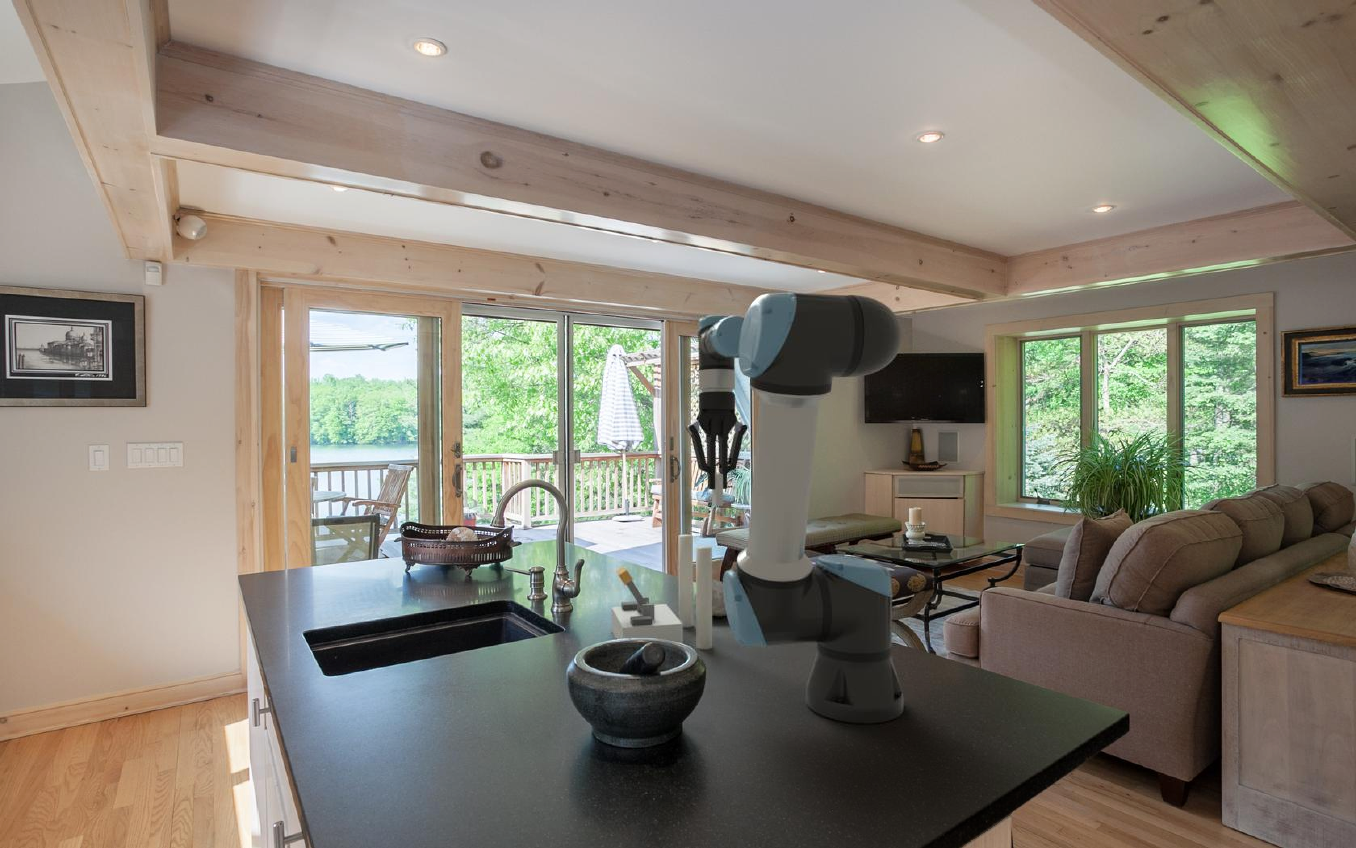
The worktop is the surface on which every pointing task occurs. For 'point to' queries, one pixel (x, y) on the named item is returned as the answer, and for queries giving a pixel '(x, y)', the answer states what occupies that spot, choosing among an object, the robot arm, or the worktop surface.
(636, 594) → the breaker lever
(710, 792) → the worktop surface
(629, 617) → the panel
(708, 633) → the post near
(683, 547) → the post far
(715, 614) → the seashell
